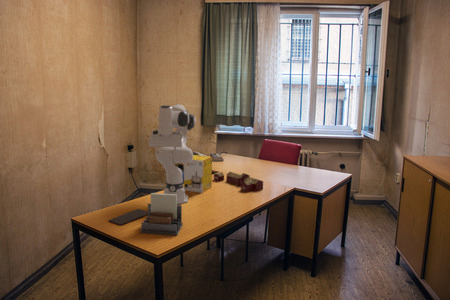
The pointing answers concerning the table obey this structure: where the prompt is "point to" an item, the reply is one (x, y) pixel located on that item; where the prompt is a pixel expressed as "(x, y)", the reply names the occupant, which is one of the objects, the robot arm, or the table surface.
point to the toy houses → (241, 181)
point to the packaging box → (198, 174)
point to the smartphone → (129, 217)
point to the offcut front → (160, 220)
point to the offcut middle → (163, 215)
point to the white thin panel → (164, 203)
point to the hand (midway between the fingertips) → (165, 154)
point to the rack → (163, 228)
